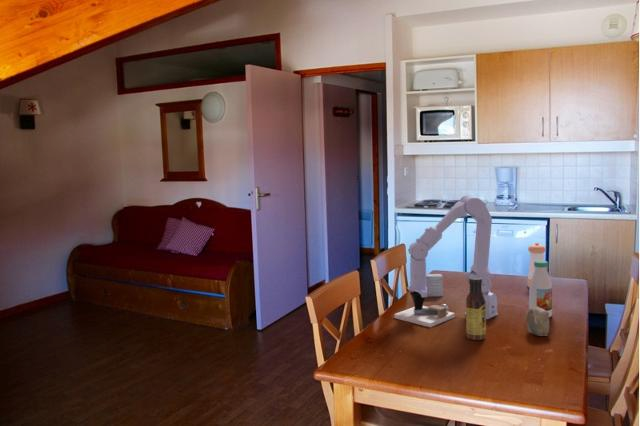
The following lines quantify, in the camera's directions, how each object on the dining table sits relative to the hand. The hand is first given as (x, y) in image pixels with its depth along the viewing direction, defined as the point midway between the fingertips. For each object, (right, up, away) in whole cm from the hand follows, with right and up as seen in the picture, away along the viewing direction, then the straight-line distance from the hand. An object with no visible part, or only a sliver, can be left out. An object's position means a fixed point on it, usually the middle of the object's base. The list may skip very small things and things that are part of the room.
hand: (418, 311), depth 207 cm
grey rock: (+36, -4, -21) cm, 42 cm away
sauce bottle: (+15, -5, -23) cm, 28 cm away
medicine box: (+11, +1, +28) cm, 30 cm away
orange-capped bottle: (+57, +4, +35) cm, 67 cm away
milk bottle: (+44, -1, -3) cm, 44 cm away
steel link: (+4, -1, -1) cm, 5 cm away
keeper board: (+2, -2, -1) cm, 3 cm away
